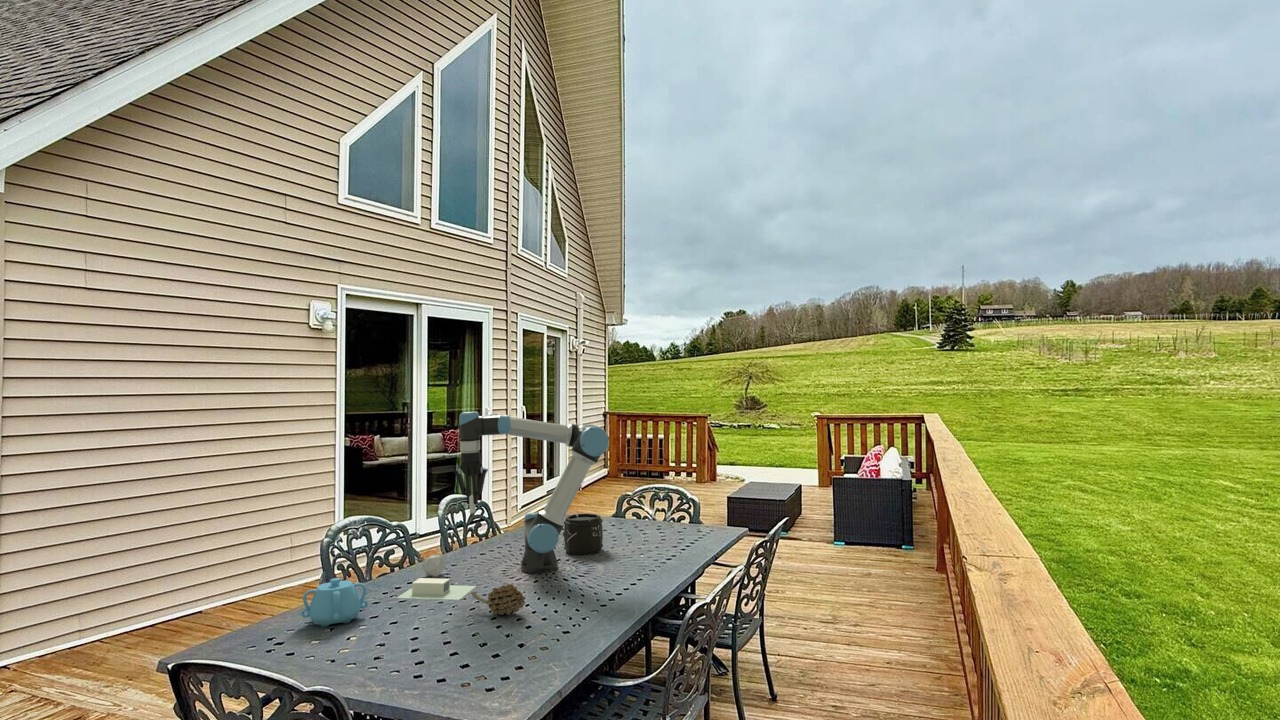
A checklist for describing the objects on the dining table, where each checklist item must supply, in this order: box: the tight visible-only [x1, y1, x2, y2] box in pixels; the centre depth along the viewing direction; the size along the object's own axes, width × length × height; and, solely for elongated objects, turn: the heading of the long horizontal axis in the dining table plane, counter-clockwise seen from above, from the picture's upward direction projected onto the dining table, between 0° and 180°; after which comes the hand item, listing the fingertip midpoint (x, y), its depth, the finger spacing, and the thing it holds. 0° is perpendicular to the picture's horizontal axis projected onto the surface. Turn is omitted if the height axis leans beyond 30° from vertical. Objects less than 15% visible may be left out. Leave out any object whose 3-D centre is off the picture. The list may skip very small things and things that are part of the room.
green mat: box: [395, 584, 477, 601], centre depth 246 cm, size 24×16×1 cm, turn 82°
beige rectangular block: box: [411, 577, 451, 595], centre depth 246 cm, size 4×6×12 cm
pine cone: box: [471, 583, 526, 616], centre depth 222 cm, size 22×10×10 cm, turn 68°
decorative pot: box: [300, 577, 369, 628], centre depth 218 cm, size 16×16×14 cm
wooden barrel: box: [562, 513, 604, 557], centre depth 303 cm, size 18×18×16 cm
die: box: [421, 554, 447, 578], centre depth 268 cm, size 8×9×10 cm
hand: (472, 512), depth 257 cm, fingers closed
